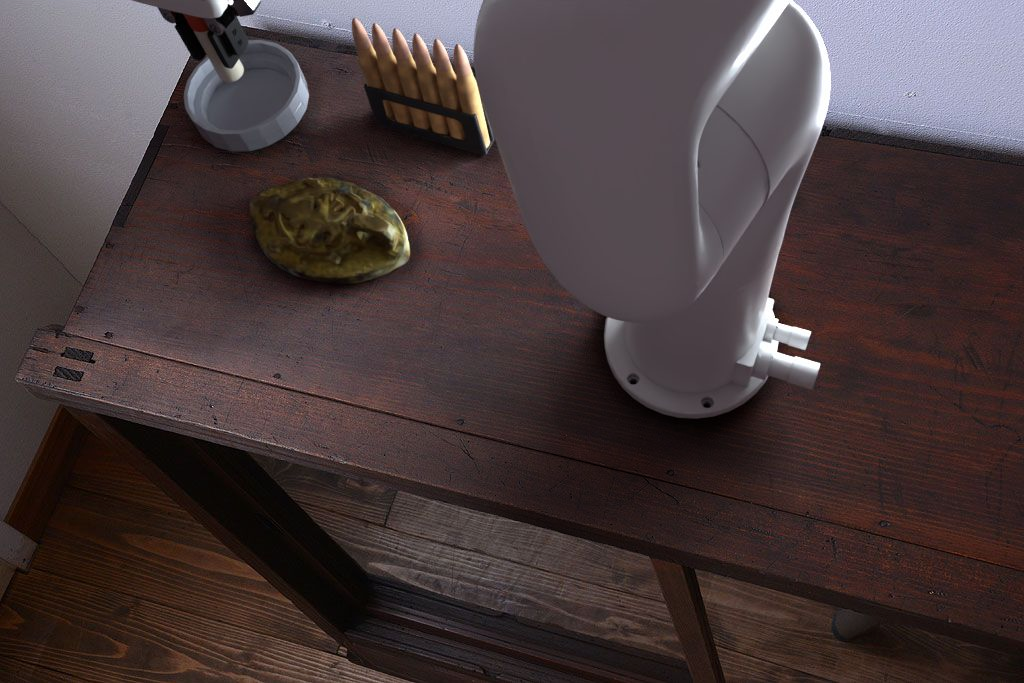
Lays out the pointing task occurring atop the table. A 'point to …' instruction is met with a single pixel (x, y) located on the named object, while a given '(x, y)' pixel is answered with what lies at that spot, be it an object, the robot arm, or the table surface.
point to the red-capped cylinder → (213, 50)
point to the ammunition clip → (422, 90)
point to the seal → (329, 231)
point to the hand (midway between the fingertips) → (221, 50)
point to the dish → (248, 99)
